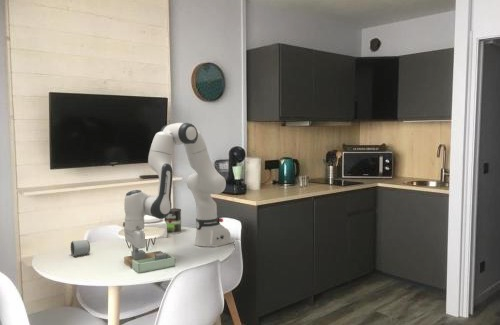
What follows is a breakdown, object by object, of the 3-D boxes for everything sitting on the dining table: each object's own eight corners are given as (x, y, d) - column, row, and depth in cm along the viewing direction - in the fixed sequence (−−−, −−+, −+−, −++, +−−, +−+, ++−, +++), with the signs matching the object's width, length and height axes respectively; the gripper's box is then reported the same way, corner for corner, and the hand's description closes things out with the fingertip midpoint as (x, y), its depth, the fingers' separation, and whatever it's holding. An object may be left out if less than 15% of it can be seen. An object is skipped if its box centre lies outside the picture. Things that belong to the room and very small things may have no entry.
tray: (167, 261, 205) (167, 253, 205) (175, 266, 198) (174, 257, 198) (131, 268, 196) (131, 259, 196) (138, 273, 189) (138, 264, 188)
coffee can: (178, 234, 262) (177, 211, 261) (162, 233, 264) (161, 211, 263) (183, 230, 272) (183, 208, 271) (168, 230, 274) (167, 208, 273)
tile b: (142, 256, 205) (141, 249, 205) (145, 258, 201) (145, 252, 200) (131, 257, 202) (131, 251, 202) (135, 260, 198) (134, 254, 198)
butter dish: (167, 238, 253) (166, 211, 252) (135, 240, 248) (134, 213, 247) (164, 231, 270) (163, 206, 269) (134, 234, 265) (133, 208, 264)
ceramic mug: (91, 255, 219) (90, 240, 219) (74, 258, 214) (73, 242, 214) (84, 251, 228) (84, 236, 227) (68, 253, 223) (67, 239, 222)
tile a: (165, 252, 201) (167, 253, 199) (165, 263, 201) (167, 264, 199) (154, 254, 198) (157, 255, 196) (155, 264, 199) (157, 266, 196)
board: (160, 256, 214) (160, 250, 214) (168, 261, 206) (168, 255, 205) (124, 263, 204) (124, 256, 204) (131, 268, 196) (130, 261, 196)
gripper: (148, 227, 197) (149, 257, 197) (134, 220, 214) (135, 248, 215) (135, 229, 193) (136, 260, 194) (121, 222, 210) (122, 250, 211)
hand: (135, 253), depth 205 cm, fingers closed
